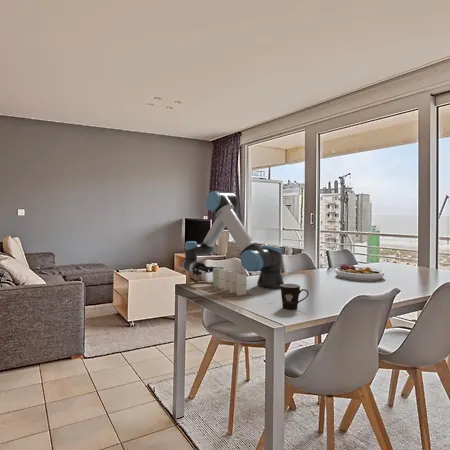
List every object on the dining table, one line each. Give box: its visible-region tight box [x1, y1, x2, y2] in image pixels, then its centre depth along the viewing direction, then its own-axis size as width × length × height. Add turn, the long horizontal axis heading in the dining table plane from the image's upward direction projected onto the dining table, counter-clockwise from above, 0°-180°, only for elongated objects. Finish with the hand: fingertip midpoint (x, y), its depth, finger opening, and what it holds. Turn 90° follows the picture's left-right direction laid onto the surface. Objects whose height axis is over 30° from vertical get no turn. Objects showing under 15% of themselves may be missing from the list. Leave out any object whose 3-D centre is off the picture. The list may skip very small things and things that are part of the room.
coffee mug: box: [280, 283, 309, 311], centre depth 162 cm, size 12×9×10 cm
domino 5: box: [237, 273, 248, 295], centre depth 186 cm, size 2×5×10 cm, turn 122°
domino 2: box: [218, 269, 229, 289], centre depth 201 cm, size 2×5×10 cm, turn 122°
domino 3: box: [224, 270, 235, 291], centre depth 196 cm, size 2×5×10 cm, turn 122°
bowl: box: [335, 263, 385, 282], centre depth 241 cm, size 30×30×8 cm
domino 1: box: [212, 267, 223, 287], centre depth 206 cm, size 2×5×10 cm, turn 122°
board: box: [194, 284, 253, 300], centre depth 194 cm, size 31×17×1 cm, turn 31°
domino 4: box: [230, 272, 241, 293], centre depth 191 cm, size 2×5×10 cm, turn 122°
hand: (215, 273), depth 208 cm, fingers open, 13 cm apart
